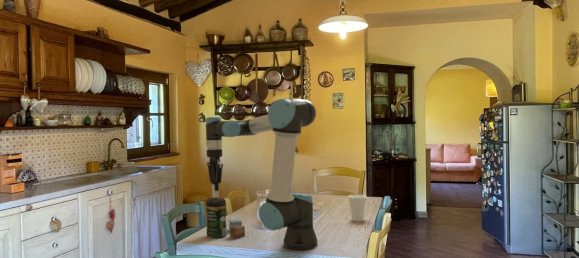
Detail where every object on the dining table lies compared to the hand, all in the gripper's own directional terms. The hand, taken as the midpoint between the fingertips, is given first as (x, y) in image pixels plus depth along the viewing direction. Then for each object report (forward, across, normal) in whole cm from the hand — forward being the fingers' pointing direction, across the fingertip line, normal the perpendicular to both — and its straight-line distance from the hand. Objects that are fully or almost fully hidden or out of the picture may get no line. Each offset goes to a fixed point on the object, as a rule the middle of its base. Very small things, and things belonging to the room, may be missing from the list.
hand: (215, 197), depth 194 cm
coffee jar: (+19, 0, 0) cm, 19 cm away
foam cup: (+19, +24, +73) cm, 79 cm away
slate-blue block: (+19, -3, +12) cm, 23 cm away
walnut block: (+19, +8, +7) cm, 22 cm away
